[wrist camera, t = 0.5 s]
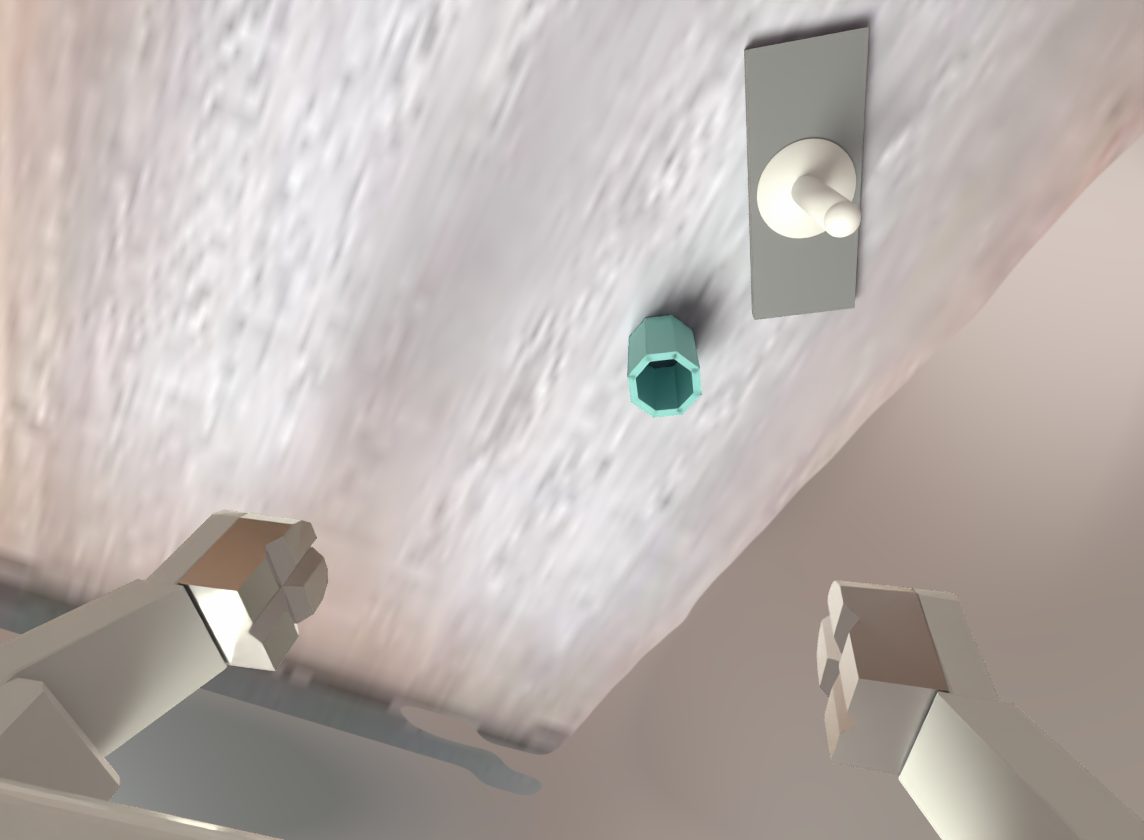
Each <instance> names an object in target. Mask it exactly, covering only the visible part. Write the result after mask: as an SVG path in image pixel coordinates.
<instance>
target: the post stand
mask: <svg viewBox="0 0 1144 840" xmlns="http://www.w3.org/2000/svg"><path fill="white" fill-rule="evenodd" d="M868 38H869V27H865V28H859V29H853V30H848V31H843V32H837V33H832V34H827V35H821V36H816V37H811V38H805V39H800V40H795V41H789V42H784V43H779V44H773V45H768V46H763V47H757V48H752V49H747V50H744V59H745V93H746V126H747V160H748V193H749V227H750V260H751V294H752V314H753V317H754V319H755V320H757V319H766V318H774V317H782V316H791V315H799V314H807V313H815V312H824V311H832V310H840V309H849V308H854V307H855V288H856V268H857V249H858V230H859V225H860V222H861V212H860V191H861V172H862V153H863V134H864V115H865V95H866V76H867V57H868Z"/></svg>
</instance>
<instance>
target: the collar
mask: <svg viewBox="0 0 1144 840" xmlns="http://www.w3.org/2000/svg"><path fill="white" fill-rule="evenodd" d="M668 359H675V360H676V361H677V364H676V365H675V366H673V367H664V368H655V369H654V368H652V367H651V366H650V365H648V364H649V362H651V361H660V360H668ZM627 377H628V382H629V389H630V397H631V402H632V403H634V404H635V405H636V406H638V407H639V408H641V409H642V410H644V411H645V412H647V413H648V414H649V415H651V416H652V417H662V416H673V415H683V413H684V412H685V411H686V410H687V409H688V408H689V407H690V406H691V405H692V404H693V403H694V402H695V401H696V400H697V399H698V398H699V397H700V396H701V395H702V393H701V382H700V367H699V361H698V356H697V351H696V346H695V341H694V336H693V331H692V329H690V328H689V327H688V326H686V325H685V324H684V323H682V322H681V321H680V320H678V319H677V318H676V317H674V316H673V315H665V316H657V317H649V318H645V319H644V320H643V321H642V323H641V324H640V325H639V326H638V327H637V328H636V330H635V331H634V332H633V333H632V334H631V336H630V337H629V346H628V373H627Z"/></svg>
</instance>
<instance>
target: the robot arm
mask: <svg viewBox="0 0 1144 840" xmlns="http://www.w3.org/2000/svg"><path fill="white" fill-rule="evenodd" d="M316 539H317V537H316V534H315V532H314V529H313V527H312V525H311V523H309V522H306V521H303V520H298V519H291V518H284V517H277V516H270V515H263V514H256V513H245V512H238V511H231V510H222V511H219V512H216V513H214V514H212V515H211V516H210V517H209V518H208V519H207V520H206V521H205V522H204V523H203V524H202V525H201V526H200V527H199V528H198V529H197V530H196V531H195V532H194V533H193V534H192V535H191V536H190V537H189V538H188V539H187V540H186V541H185V542H184V543H183V544H182V545H181V546H180V547H179V548H178V549H177V550H176V551H175V552H174V553H173V554H172V555H171V556H170V557H169V558H168V559H167V560H166V561H165V562H164V563H163V564H162V565H161V566H160V567H159V568H158V569H157V570H156V571H155V572H154V573H153V574H152V575H150V576H149V577H148V578H147V579H146V580H141V579H137V580H135V581H133V582H130V583H128V584H126V585H124V586H122V587H120V588H118V589H116V590H114V591H112V592H109V593H107V594H105V595H103V596H101V597H99V598H97V599H95V600H93V601H91V602H89V603H86V604H84V605H82V606H80V607H78V608H76V609H74V610H72V611H70V612H68V613H65V614H63V615H61V616H59V617H57V618H55V619H53V620H51V621H49V622H47V623H45V624H42V625H40V626H38V627H36V628H34V629H32V630H30V631H28V632H26V633H24V634H22V635H19V636H17V637H15V638H13V639H11V640H9V641H7V642H5V643H3V644H1V645H0V840H283V839H278V838H274V837H269V836H264V835H260V834H256V833H251V832H246V831H242V830H237V829H232V828H228V827H224V826H219V825H214V824H210V823H205V822H201V821H196V820H191V819H186V818H183V817H178V816H174V815H168V814H164V813H160V812H155V811H151V810H146V809H142V808H137V807H132V806H128V805H123V804H119V803H114V802H110V801H109V800H110V799H111V798H112V796H113V795H114V794H115V792H116V791H117V790H118V788H119V787H120V777H119V776H118V774H117V773H116V772H115V770H114V769H113V768H112V767H111V765H110V764H109V763H108V762H107V760H106V759H105V758H104V757H106V756H107V755H108V754H110V753H111V752H113V751H114V750H115V749H117V748H118V747H119V746H121V745H122V744H123V743H125V742H126V741H127V740H129V739H130V738H132V737H133V736H134V735H136V734H137V733H138V732H140V731H141V730H142V729H144V728H145V727H147V726H148V725H149V724H151V723H152V722H153V721H155V720H156V719H157V718H159V717H160V716H162V715H163V714H164V713H166V712H167V711H168V710H169V709H171V708H173V707H174V706H175V705H177V704H178V703H179V702H181V701H182V700H183V699H185V698H186V697H187V696H189V695H190V694H192V693H193V692H194V691H196V690H197V689H198V688H200V687H201V686H202V685H204V684H205V683H207V682H208V681H209V680H211V679H212V678H213V677H215V676H216V675H217V674H219V673H220V672H222V671H223V670H224V669H226V668H227V666H226V665H234V666H242V667H249V668H257V669H264V670H272V671H275V670H276V669H277V667H278V666H279V664H280V663H281V662H282V660H283V659H284V657H285V656H286V654H287V653H288V651H289V650H290V648H291V647H292V645H293V644H294V642H295V641H296V639H297V638H298V636H299V634H298V623H300V622H301V621H303V620H304V619H306V618H308V617H309V616H311V615H312V614H314V612H315V611H316V609H317V608H318V606H319V605H320V603H321V601H322V600H323V597H324V594H325V590H326V587H327V584H328V568H327V565H326V562H325V559H324V557H323V556H322V555H321V554H319V553H318V552H317V551H316V550H315V549H314V548H313V547H312V546H313V544H314V542H315V541H316ZM827 599H828V606H829V612H830V615H829V616H827V617H826V618H824V619H823V620H822V622H821V626H820V631H819V635H818V646H817V667H818V668H817V669H818V677H819V685H820V687H821V689H822V690H823V691H824V692H825V693H826V695H827V696H828V697H829V700H828V704H827V707H826V710H825V714H824V721H825V727H826V734H827V741H828V747H829V754H830V760H831V763H836V764H841V765H846V766H851V767H857V768H862V769H867V770H873V771H878V772H883V773H888V774H894V775H899V780H900V782H901V783H902V785H903V786H904V787H905V789H906V790H907V792H908V793H909V794H910V796H911V797H912V799H913V800H914V801H915V803H916V804H917V806H918V807H919V808H920V810H921V811H922V812H923V814H924V815H925V817H926V818H927V819H928V821H929V822H930V823H931V825H932V826H933V828H934V829H935V831H936V832H937V833H938V835H939V836H940V838H941V839H942V840H1144V821H1143V820H1142V819H1141V818H1140V817H1139V816H1138V815H1137V814H1136V813H1135V812H1133V811H1132V810H1131V809H1130V808H1129V807H1128V806H1127V805H1126V804H1125V803H1124V802H1122V801H1121V800H1120V799H1119V798H1118V797H1117V796H1116V795H1115V794H1114V793H1112V792H1111V791H1110V790H1109V789H1108V788H1107V787H1106V786H1105V785H1104V784H1103V783H1101V782H1100V781H1099V780H1098V779H1097V778H1096V777H1095V776H1094V775H1092V774H1091V773H1090V772H1089V771H1088V770H1087V769H1086V768H1085V767H1083V765H1082V764H1080V763H1079V762H1078V761H1077V760H1076V759H1075V758H1074V757H1073V756H1072V755H1070V754H1069V753H1068V752H1067V751H1066V750H1065V749H1064V748H1063V747H1062V746H1060V745H1059V744H1058V743H1057V742H1056V741H1055V740H1054V739H1053V738H1051V736H1049V735H1048V734H1047V733H1046V732H1045V731H1044V730H1043V729H1041V728H1040V727H1039V726H1038V725H1037V724H1036V723H1035V722H1034V721H1033V720H1032V719H1031V718H1029V717H1028V716H1027V715H1026V714H1025V713H1024V712H1023V711H1022V710H1021V709H1020V708H1018V707H1017V706H1016V705H1015V704H1014V703H1012V702H1006V701H1001V700H999V697H998V695H997V693H996V690H995V688H994V685H993V682H992V680H991V677H990V675H989V673H988V670H987V668H986V665H985V663H984V660H983V658H982V656H981V653H980V650H979V648H978V645H977V643H976V641H975V638H974V636H973V633H972V631H971V628H970V626H969V623H968V621H967V618H966V616H965V613H964V611H963V608H962V606H961V604H960V601H959V599H958V598H957V597H956V596H955V595H954V594H953V593H952V592H942V591H933V590H923V589H914V588H912V589H909V588H904V587H895V586H885V585H876V584H866V583H857V582H847V581H836V580H835V581H834V582H833V584H832V585H831V588H830V591H829V595H828V598H827Z"/></svg>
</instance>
